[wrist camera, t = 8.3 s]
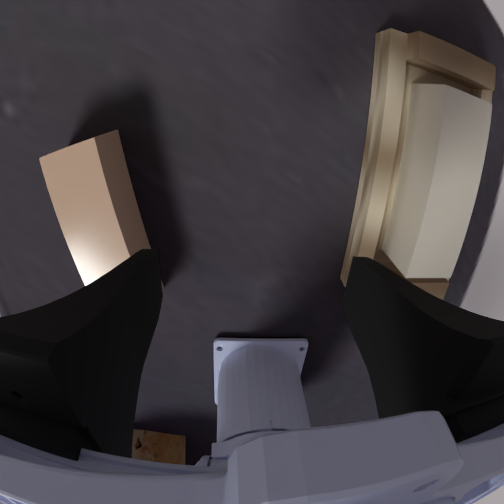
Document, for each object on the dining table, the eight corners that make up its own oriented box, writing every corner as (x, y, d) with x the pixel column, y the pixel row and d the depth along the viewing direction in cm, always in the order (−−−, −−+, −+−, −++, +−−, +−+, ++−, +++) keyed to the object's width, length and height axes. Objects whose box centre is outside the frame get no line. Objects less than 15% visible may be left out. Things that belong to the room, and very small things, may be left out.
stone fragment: (165, 441, 44) (216, 513, 34) (110, 461, 37) (156, 539, 28) (165, 399, 37) (231, 492, 27) (93, 422, 31) (150, 529, 21)
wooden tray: (431, 278, 24) (452, 301, 21) (339, 277, 24) (354, 305, 20) (475, 70, 16) (506, 72, 13) (375, 33, 15) (401, 24, 12)
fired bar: (164, 285, 24) (154, 318, 20) (119, 292, 24) (103, 324, 20) (119, 128, 18) (94, 137, 14) (69, 145, 18) (39, 158, 15)
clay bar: (424, 251, 22) (450, 277, 19) (381, 249, 22) (405, 278, 18) (455, 98, 17) (492, 104, 13) (410, 83, 16) (446, 84, 13)
